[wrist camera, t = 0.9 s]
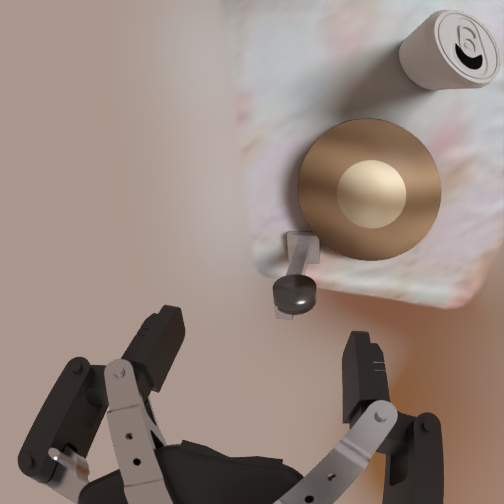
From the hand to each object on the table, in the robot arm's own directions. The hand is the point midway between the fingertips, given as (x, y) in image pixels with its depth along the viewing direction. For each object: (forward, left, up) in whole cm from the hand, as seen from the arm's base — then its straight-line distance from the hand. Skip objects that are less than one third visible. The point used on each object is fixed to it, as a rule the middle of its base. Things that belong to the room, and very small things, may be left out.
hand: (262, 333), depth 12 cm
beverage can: (-15, +13, -23) cm, 30 cm away
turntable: (0, +6, -21) cm, 22 cm away
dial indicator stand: (+8, -2, -22) cm, 24 cm away
